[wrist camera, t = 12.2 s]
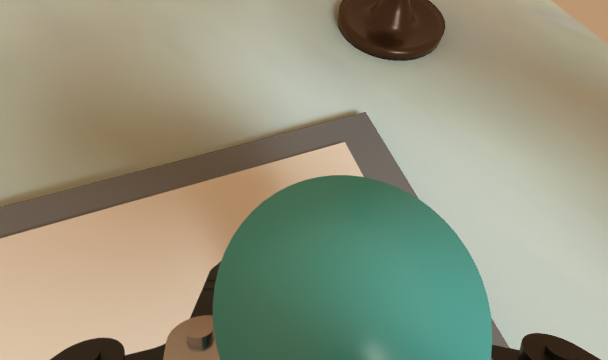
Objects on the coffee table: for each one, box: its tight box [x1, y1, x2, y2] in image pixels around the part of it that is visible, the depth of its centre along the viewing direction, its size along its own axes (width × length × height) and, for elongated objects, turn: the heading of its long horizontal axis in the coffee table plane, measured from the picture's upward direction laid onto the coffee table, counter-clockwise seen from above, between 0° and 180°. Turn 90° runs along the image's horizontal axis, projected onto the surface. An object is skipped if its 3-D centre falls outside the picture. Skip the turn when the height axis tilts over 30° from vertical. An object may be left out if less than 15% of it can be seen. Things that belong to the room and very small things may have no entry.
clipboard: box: [0, 112, 509, 360], centre depth 15 cm, size 26×20×2 cm
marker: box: [213, 175, 492, 360], centre depth 9 cm, size 4×4×12 cm
